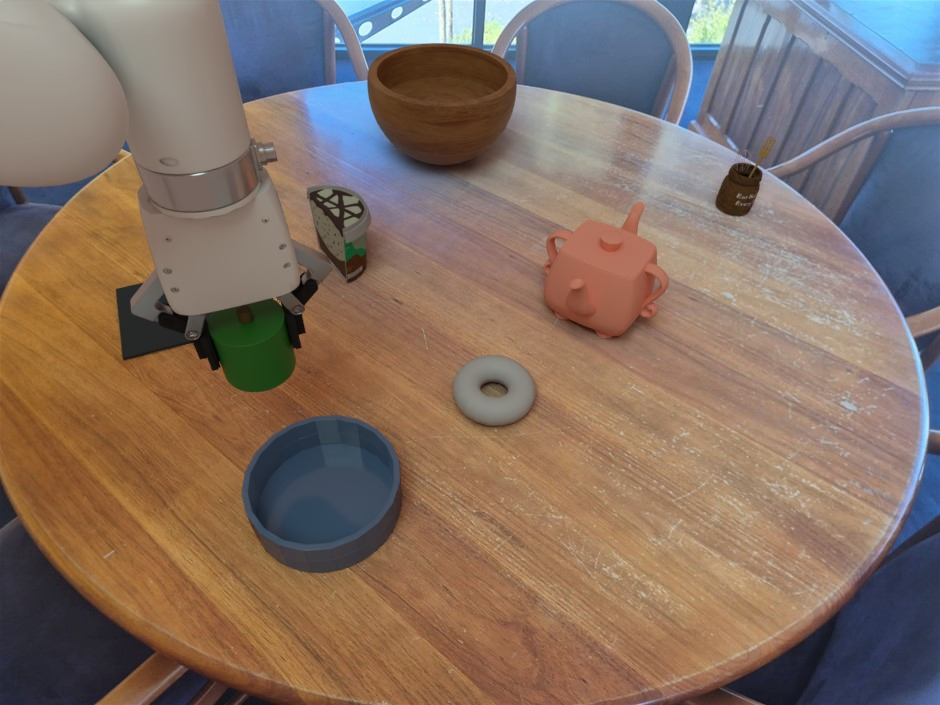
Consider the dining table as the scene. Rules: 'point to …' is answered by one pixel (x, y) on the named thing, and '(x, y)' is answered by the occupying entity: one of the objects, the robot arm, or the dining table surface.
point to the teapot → (603, 275)
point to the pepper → (253, 345)
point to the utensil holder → (741, 185)
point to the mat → (143, 328)
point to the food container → (341, 227)
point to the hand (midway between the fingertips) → (254, 347)
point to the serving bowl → (323, 493)
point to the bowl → (441, 100)
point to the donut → (494, 408)
